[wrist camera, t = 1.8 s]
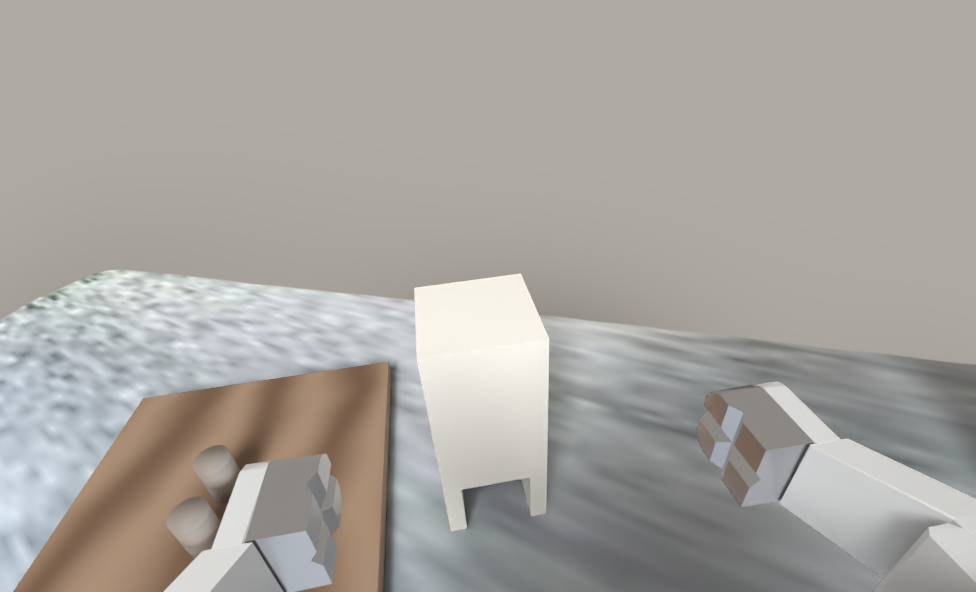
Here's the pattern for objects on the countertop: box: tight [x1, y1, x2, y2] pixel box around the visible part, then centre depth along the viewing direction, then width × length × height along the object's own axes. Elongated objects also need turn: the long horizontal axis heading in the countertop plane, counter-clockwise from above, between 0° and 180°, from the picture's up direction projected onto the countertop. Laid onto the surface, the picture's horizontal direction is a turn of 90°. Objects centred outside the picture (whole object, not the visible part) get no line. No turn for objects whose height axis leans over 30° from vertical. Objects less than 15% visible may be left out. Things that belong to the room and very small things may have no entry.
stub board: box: [13, 362, 391, 592], centre depth 27 cm, size 20×24×4 cm
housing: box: [414, 274, 549, 532], centre depth 26 cm, size 6×6×14 cm
